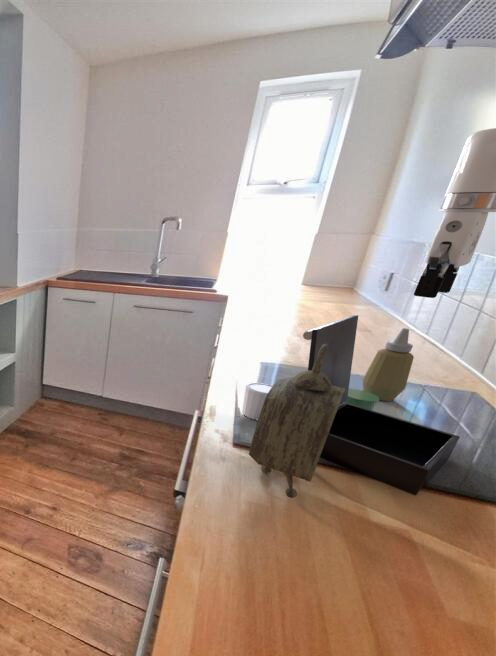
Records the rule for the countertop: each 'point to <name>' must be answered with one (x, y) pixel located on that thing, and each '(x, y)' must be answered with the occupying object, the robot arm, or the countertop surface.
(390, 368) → the squeeze bottle
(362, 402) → the pot
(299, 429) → the tan textured upright piece
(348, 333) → the lid
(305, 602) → the countertop surface
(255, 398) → the white short cylinder
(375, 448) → the black rectangular tray
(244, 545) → the countertop surface
